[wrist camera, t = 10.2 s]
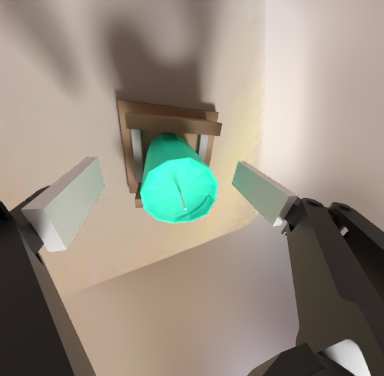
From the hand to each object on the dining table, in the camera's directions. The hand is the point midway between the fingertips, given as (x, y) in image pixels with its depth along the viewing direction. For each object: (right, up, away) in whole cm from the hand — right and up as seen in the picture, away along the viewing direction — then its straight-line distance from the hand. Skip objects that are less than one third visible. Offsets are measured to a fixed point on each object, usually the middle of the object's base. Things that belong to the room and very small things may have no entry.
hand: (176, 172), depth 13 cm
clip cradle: (-2, +4, +7) cm, 8 cm away
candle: (-2, +3, +6) cm, 7 cm away
